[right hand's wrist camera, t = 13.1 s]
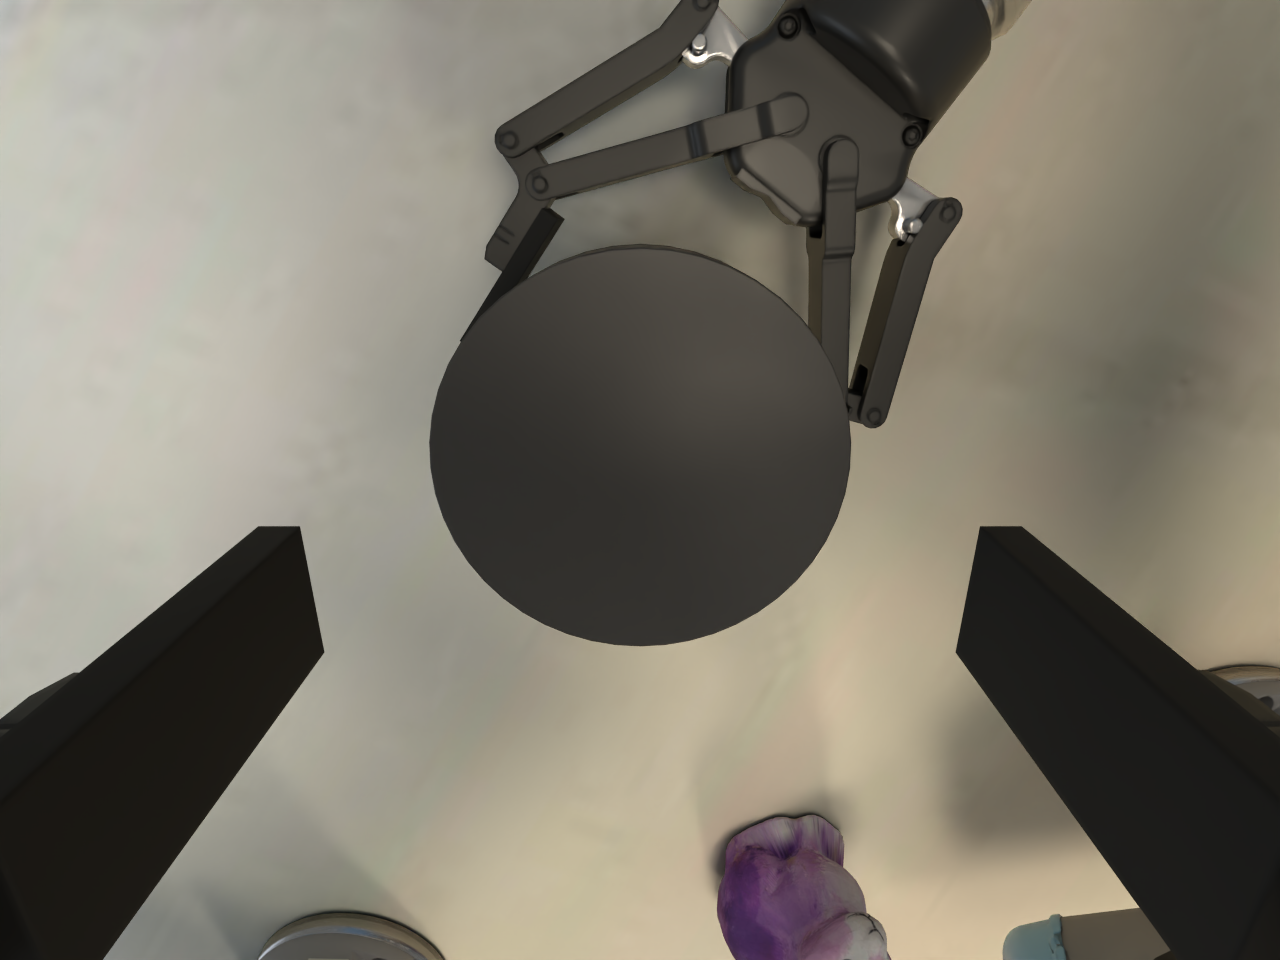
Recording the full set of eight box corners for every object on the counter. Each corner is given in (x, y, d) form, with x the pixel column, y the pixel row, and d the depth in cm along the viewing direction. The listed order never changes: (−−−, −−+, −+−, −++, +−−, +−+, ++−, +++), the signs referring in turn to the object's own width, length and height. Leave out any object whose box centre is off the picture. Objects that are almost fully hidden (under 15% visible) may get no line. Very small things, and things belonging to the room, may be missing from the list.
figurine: (853, 797, 48) (940, 1037, 34) (837, 902, 52) (910, 1157, 38) (717, 797, 48) (749, 1036, 34) (712, 902, 52) (738, 1156, 38)
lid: (578, 663, 24) (573, 703, 22) (370, 376, 20) (341, 393, 18) (891, 508, 22) (916, 538, 20) (720, 158, 18) (730, 151, 16)
